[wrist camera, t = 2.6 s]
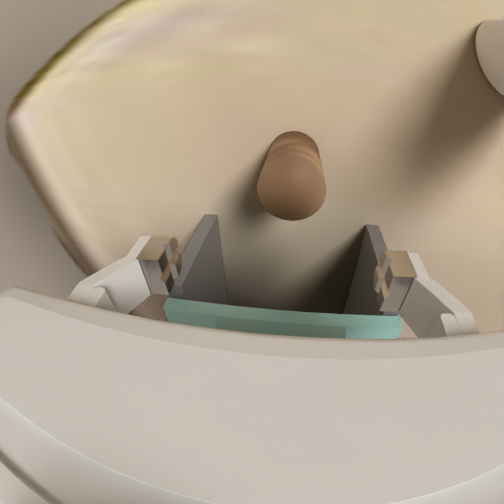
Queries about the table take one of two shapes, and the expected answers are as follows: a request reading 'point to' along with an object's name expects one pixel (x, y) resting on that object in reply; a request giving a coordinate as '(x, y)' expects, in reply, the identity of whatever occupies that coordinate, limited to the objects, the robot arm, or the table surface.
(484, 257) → the table surface
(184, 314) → the lid
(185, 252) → the housing
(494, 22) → the milk bottle
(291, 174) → the tan rounded cylinder
